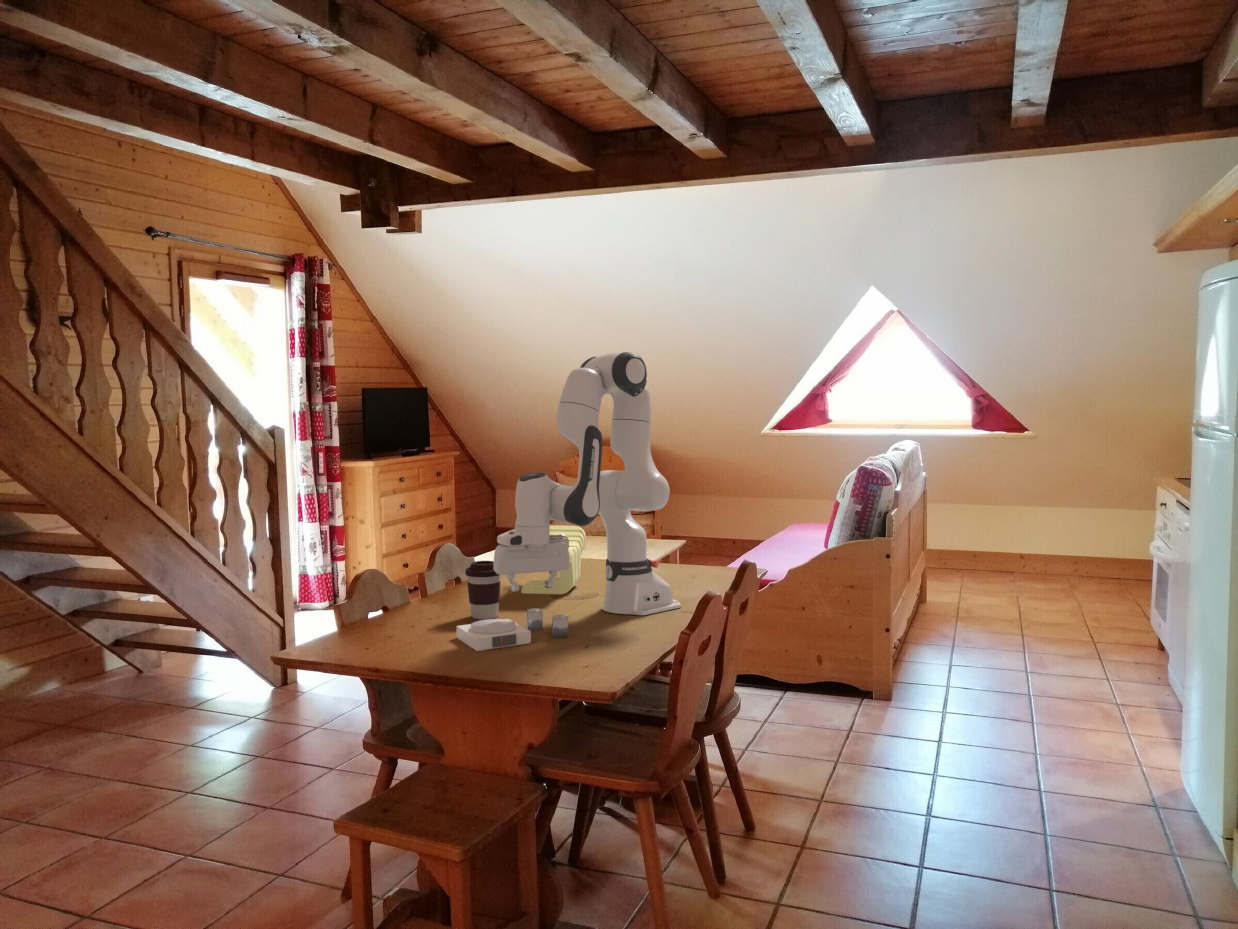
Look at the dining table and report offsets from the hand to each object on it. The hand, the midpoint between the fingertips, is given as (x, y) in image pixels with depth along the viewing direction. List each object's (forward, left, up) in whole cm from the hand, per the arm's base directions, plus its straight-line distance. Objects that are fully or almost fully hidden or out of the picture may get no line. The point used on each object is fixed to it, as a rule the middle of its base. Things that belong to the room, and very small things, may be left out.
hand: (532, 589), depth 244 cm
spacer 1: (-1, 0, -11) cm, 11 cm away
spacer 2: (-3, +10, -11) cm, 15 cm away
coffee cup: (+6, -19, -11) cm, 23 cm away
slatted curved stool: (-25, -42, -11) cm, 50 cm away
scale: (+13, +5, -10) cm, 17 cm away
